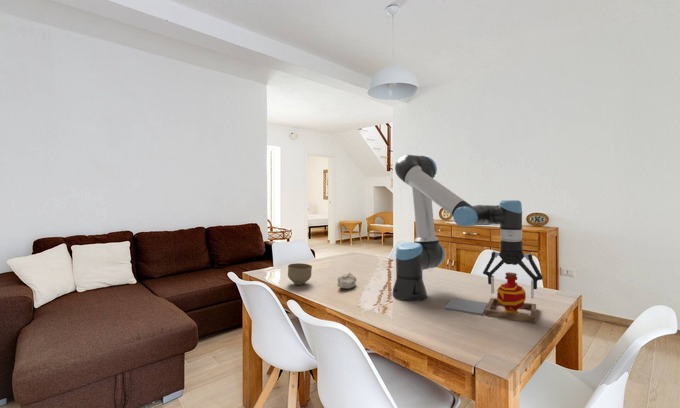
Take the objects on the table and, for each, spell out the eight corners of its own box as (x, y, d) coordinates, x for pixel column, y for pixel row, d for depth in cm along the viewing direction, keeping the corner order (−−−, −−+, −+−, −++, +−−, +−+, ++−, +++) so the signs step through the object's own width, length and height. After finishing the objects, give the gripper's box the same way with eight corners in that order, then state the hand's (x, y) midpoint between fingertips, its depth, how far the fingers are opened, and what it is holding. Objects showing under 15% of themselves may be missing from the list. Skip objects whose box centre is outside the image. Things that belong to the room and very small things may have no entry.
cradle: (484, 314, 124) (484, 309, 124) (490, 302, 138) (490, 297, 138) (535, 323, 115) (535, 317, 115) (536, 309, 129) (536, 304, 129)
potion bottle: (530, 317, 120) (530, 277, 120) (500, 316, 122) (500, 276, 122) (520, 308, 131) (521, 270, 130) (493, 306, 133) (493, 270, 132)
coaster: (444, 308, 131) (444, 307, 131) (452, 298, 143) (452, 297, 143) (482, 315, 124) (482, 313, 124) (487, 304, 135) (487, 302, 135)
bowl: (311, 287, 164) (310, 267, 163) (286, 287, 164) (285, 268, 163) (313, 280, 176) (313, 262, 176) (290, 281, 176) (289, 262, 176)
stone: (357, 293, 165) (359, 273, 169) (348, 287, 155) (351, 266, 159) (343, 292, 168) (346, 273, 172) (333, 286, 158) (337, 266, 162)
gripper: (474, 239, 129) (475, 293, 129) (549, 243, 116) (550, 302, 116) (478, 237, 135) (478, 288, 136) (549, 240, 122) (550, 296, 123)
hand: (512, 295), depth 126 cm, fingers open, 13 cm apart
